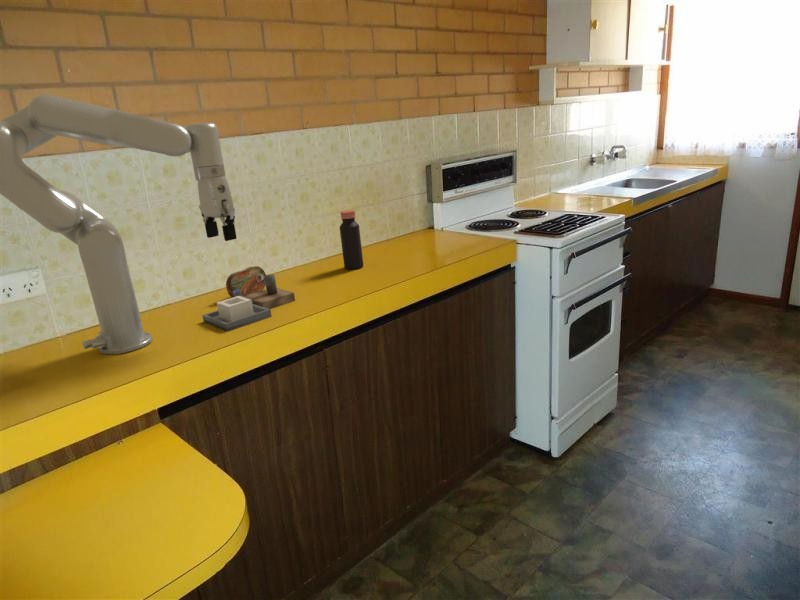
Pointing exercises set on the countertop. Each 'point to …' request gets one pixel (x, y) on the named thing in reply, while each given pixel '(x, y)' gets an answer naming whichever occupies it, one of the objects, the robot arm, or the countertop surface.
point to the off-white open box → (235, 308)
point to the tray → (227, 326)
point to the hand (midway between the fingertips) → (221, 238)
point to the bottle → (351, 241)
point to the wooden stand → (271, 295)
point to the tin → (246, 282)
